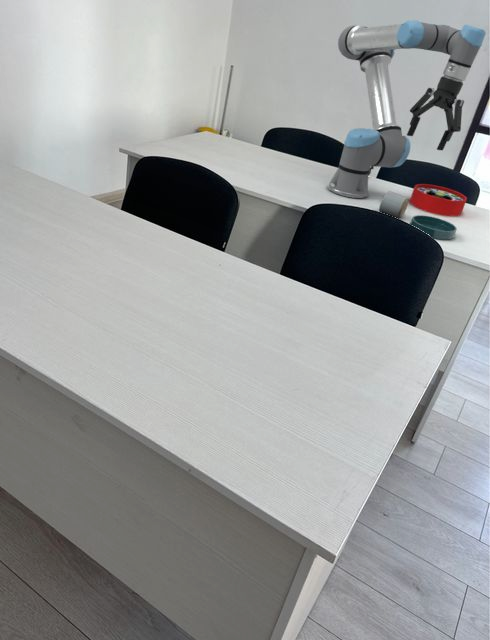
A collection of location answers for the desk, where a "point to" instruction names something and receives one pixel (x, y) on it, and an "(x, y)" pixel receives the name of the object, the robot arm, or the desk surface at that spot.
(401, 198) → the grey cylinder
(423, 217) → the bowl
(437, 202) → the toy clock
